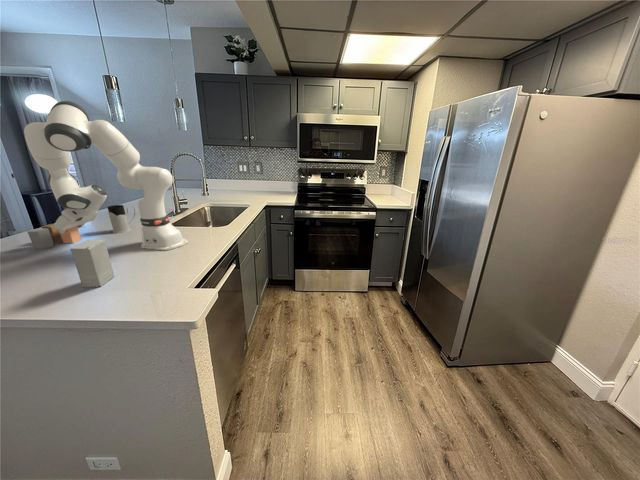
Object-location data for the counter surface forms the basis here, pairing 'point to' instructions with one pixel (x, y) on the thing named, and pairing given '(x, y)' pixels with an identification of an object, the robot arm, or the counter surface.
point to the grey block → (41, 238)
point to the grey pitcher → (119, 218)
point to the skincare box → (92, 263)
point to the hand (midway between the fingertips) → (70, 229)
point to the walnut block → (53, 233)
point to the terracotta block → (71, 235)
